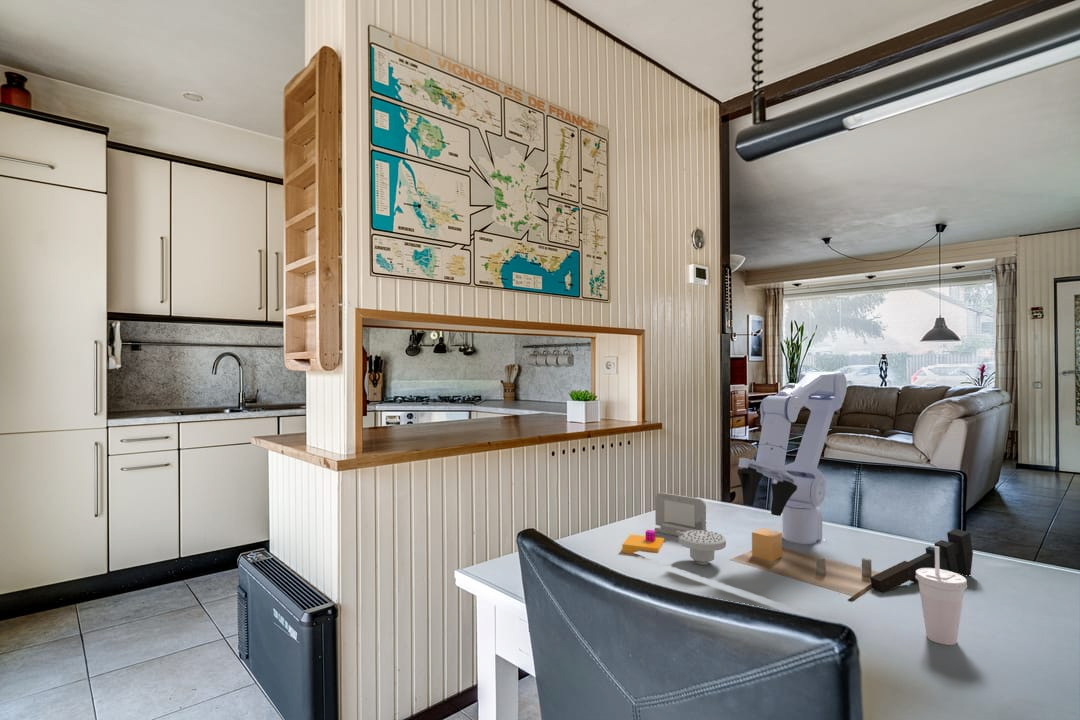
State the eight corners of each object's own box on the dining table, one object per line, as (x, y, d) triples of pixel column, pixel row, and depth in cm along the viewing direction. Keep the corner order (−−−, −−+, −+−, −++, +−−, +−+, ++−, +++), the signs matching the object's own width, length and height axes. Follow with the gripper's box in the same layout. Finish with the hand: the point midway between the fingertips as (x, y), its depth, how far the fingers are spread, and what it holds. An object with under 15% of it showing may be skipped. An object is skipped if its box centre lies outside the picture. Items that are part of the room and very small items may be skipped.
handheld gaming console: (719, 534, 137) (719, 493, 137) (703, 543, 130) (703, 500, 130) (671, 524, 146) (671, 486, 146) (654, 532, 139) (654, 492, 139)
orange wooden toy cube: (762, 551, 121) (762, 528, 121) (782, 556, 118) (781, 532, 118) (752, 555, 118) (751, 532, 118) (771, 561, 115) (771, 537, 115)
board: (767, 548, 126) (767, 529, 126) (885, 578, 108) (885, 557, 108) (729, 564, 116) (729, 544, 116) (852, 601, 97) (852, 577, 97)
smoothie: (905, 629, 87) (905, 540, 87) (943, 628, 88) (943, 539, 88) (938, 650, 81) (937, 554, 81) (979, 648, 81) (978, 553, 81)
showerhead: (674, 524, 120) (723, 526, 118) (675, 557, 120) (723, 560, 118) (676, 537, 111) (728, 540, 109) (676, 573, 111) (729, 577, 109)
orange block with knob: (658, 558, 121) (658, 539, 121) (622, 554, 124) (622, 535, 124) (664, 547, 128) (664, 529, 128) (630, 543, 131) (630, 525, 131)
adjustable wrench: (874, 613, 104) (961, 568, 112) (888, 619, 101) (976, 572, 110) (867, 570, 103) (955, 528, 112) (880, 575, 101) (969, 532, 109)
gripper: (759, 437, 115) (748, 502, 111) (812, 458, 119) (802, 521, 115) (736, 438, 121) (725, 499, 118) (787, 458, 125) (777, 517, 122)
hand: (761, 510), depth 117 cm, fingers open, 7 cm apart
